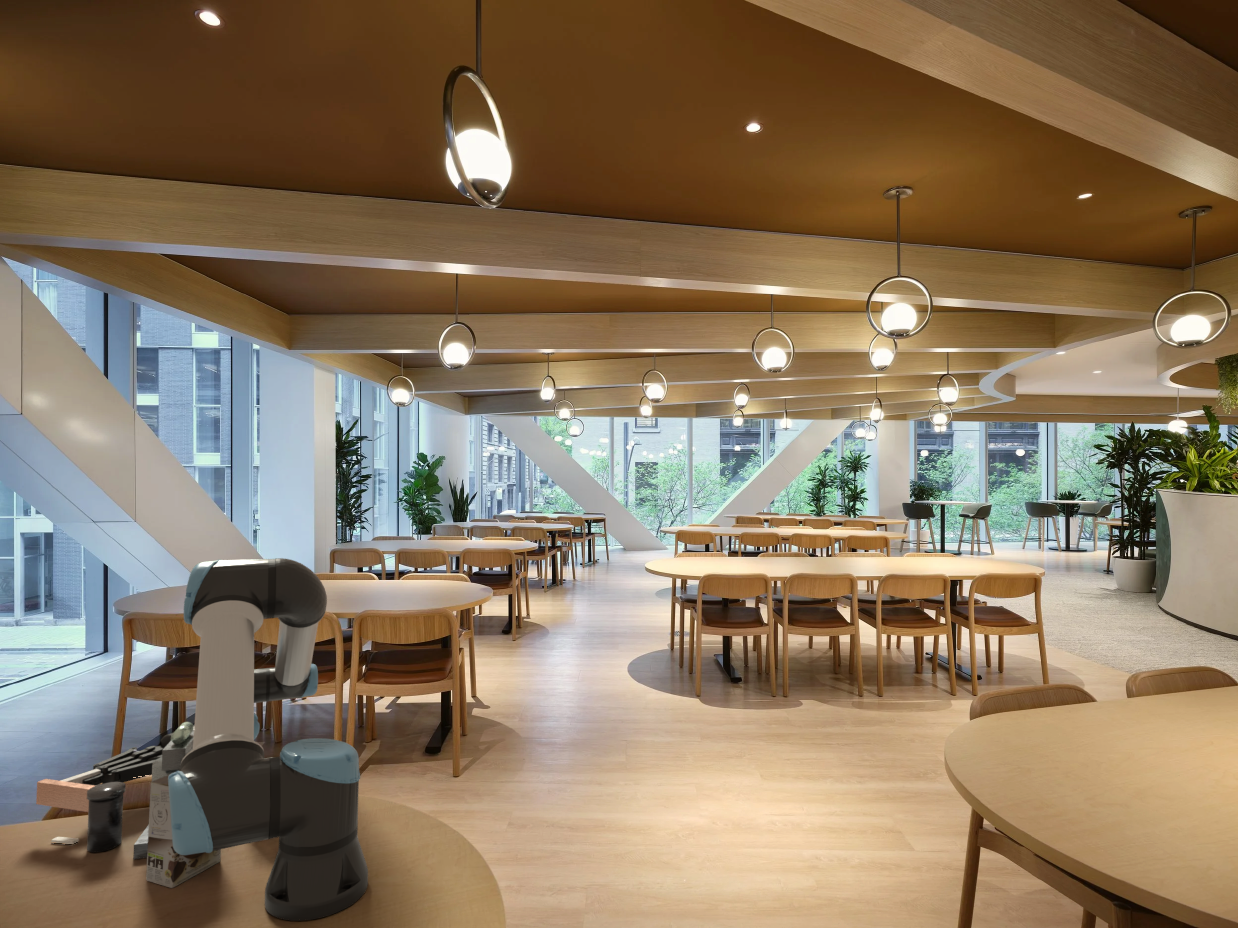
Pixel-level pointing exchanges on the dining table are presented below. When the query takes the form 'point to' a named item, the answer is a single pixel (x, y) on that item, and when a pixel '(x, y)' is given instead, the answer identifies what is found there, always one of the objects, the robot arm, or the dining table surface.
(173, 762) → the level instrument
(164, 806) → the coffee box
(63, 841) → the index mark
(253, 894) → the dining table surface
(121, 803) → the wooden-handled mallet
